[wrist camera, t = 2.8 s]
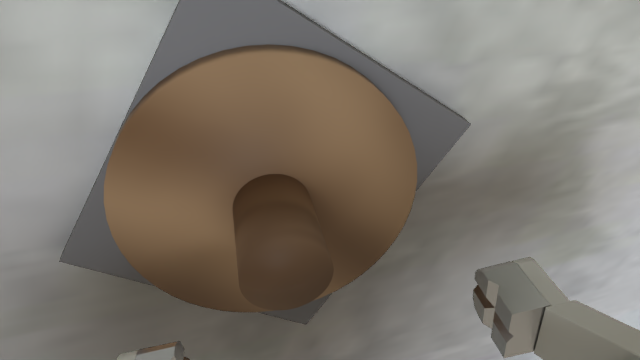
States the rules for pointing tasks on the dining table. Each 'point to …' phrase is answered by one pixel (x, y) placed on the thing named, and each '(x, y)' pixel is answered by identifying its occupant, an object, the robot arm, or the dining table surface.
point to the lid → (259, 179)
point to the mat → (246, 30)
